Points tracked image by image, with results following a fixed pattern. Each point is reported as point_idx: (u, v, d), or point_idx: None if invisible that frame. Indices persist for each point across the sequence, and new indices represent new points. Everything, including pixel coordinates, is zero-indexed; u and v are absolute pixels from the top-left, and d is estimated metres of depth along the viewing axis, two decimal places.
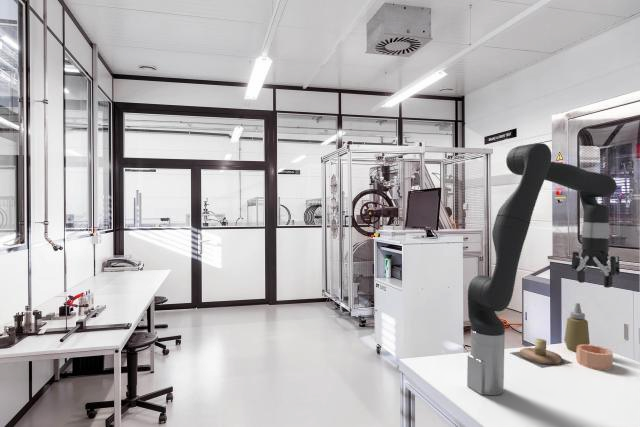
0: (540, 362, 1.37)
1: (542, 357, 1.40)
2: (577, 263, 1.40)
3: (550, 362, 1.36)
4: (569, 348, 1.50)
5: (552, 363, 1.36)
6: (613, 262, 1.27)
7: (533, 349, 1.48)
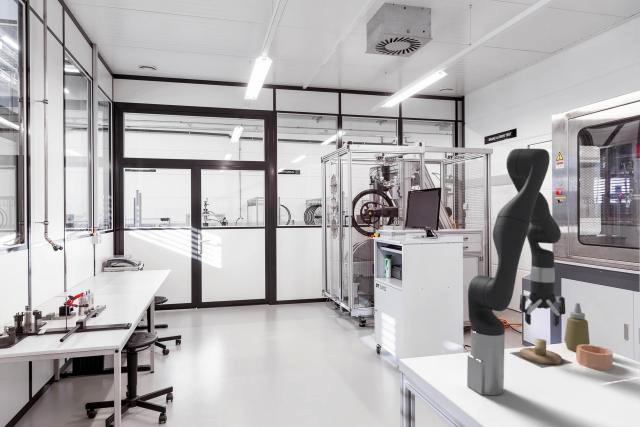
0: (540, 362, 1.37)
1: (542, 357, 1.40)
2: None
3: (550, 362, 1.36)
4: (569, 348, 1.50)
5: (552, 363, 1.36)
6: (564, 303, 1.40)
7: (533, 349, 1.48)
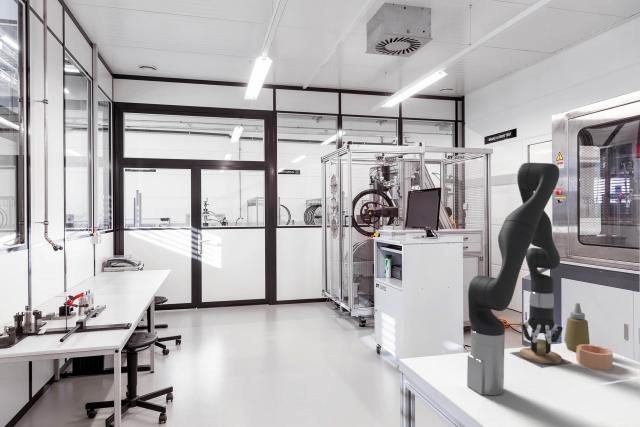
0: (540, 362, 1.37)
1: (542, 357, 1.40)
2: None
3: (550, 362, 1.36)
4: (569, 348, 1.50)
5: (552, 362, 1.36)
6: (560, 332, 1.40)
7: None
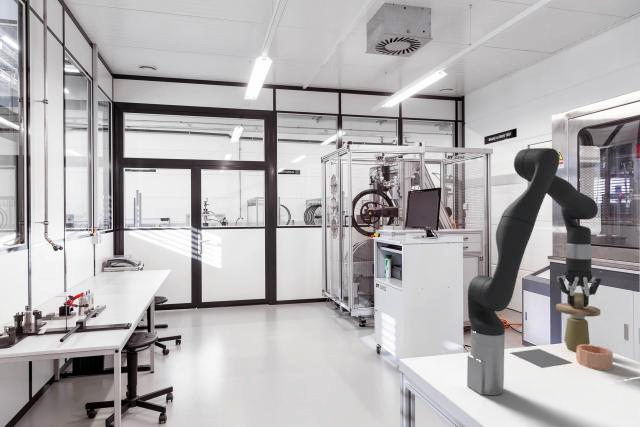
0: (579, 314, 1.34)
1: (580, 310, 1.36)
2: None
3: (590, 314, 1.33)
4: (569, 348, 1.50)
5: (592, 314, 1.33)
6: (598, 284, 1.37)
7: None
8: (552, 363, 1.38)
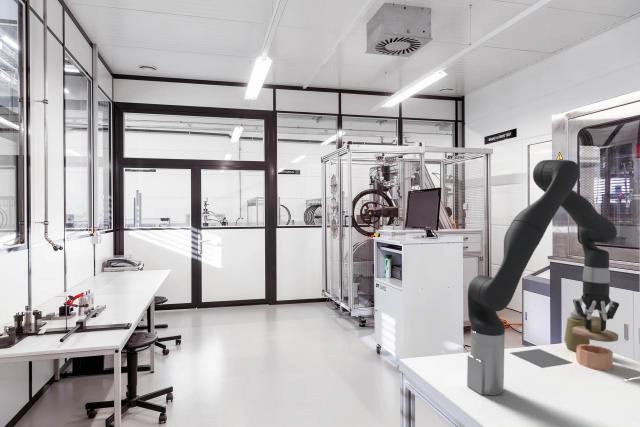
0: (597, 339, 1.32)
1: (598, 334, 1.34)
2: (579, 310, 1.39)
3: (607, 339, 1.31)
4: (569, 348, 1.50)
5: (610, 339, 1.31)
6: (616, 308, 1.35)
7: None
8: (552, 363, 1.38)
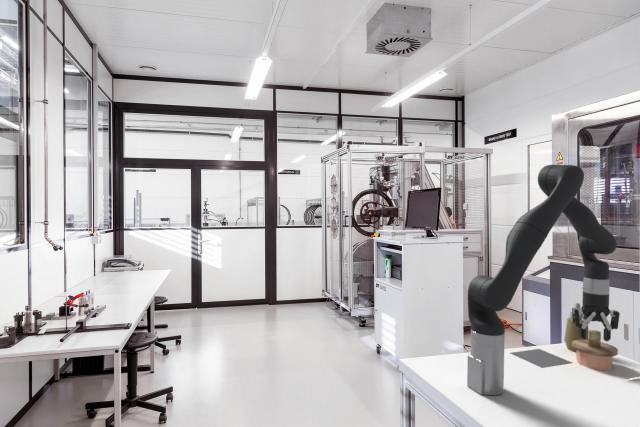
0: (596, 354, 1.32)
1: (597, 349, 1.35)
2: (575, 320, 1.39)
3: (607, 354, 1.31)
4: (569, 348, 1.50)
5: (609, 354, 1.31)
6: (618, 317, 1.35)
7: (585, 341, 1.42)
8: (552, 363, 1.38)
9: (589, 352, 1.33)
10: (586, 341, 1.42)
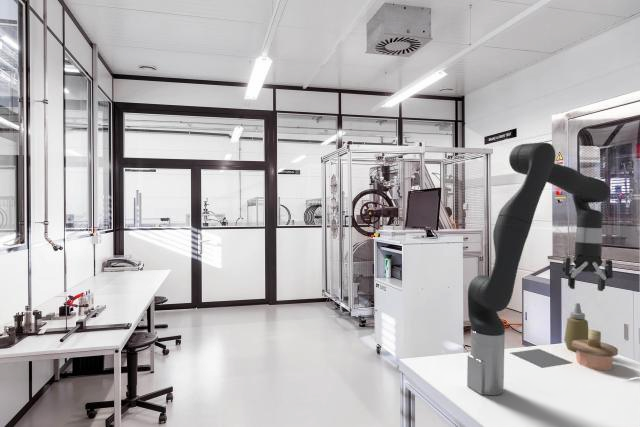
0: (596, 354, 1.32)
1: (597, 349, 1.35)
2: (565, 269, 1.36)
3: (607, 354, 1.31)
4: (569, 348, 1.50)
5: (609, 354, 1.31)
6: (611, 266, 1.32)
7: (585, 341, 1.42)
8: (552, 363, 1.38)
9: (589, 352, 1.33)
10: (586, 341, 1.42)
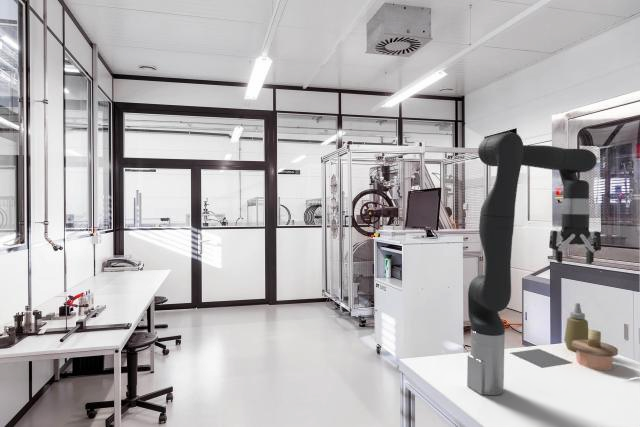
0: (596, 354, 1.32)
1: (597, 349, 1.35)
2: (552, 243, 1.31)
3: (607, 354, 1.31)
4: (569, 348, 1.50)
5: (609, 354, 1.31)
6: (599, 237, 1.27)
7: (585, 341, 1.42)
8: (552, 363, 1.38)
9: (589, 352, 1.33)
10: (586, 341, 1.42)
